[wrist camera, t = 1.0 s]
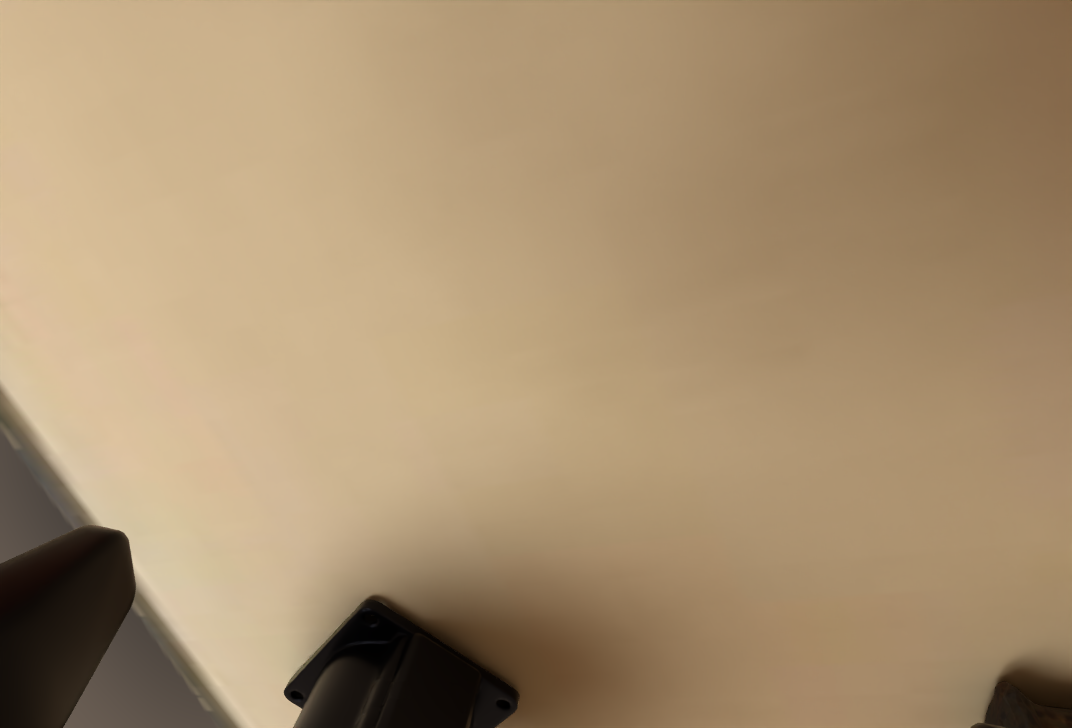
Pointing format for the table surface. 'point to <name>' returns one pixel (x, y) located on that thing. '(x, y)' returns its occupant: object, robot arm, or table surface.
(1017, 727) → the hand tool
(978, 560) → the table surface
